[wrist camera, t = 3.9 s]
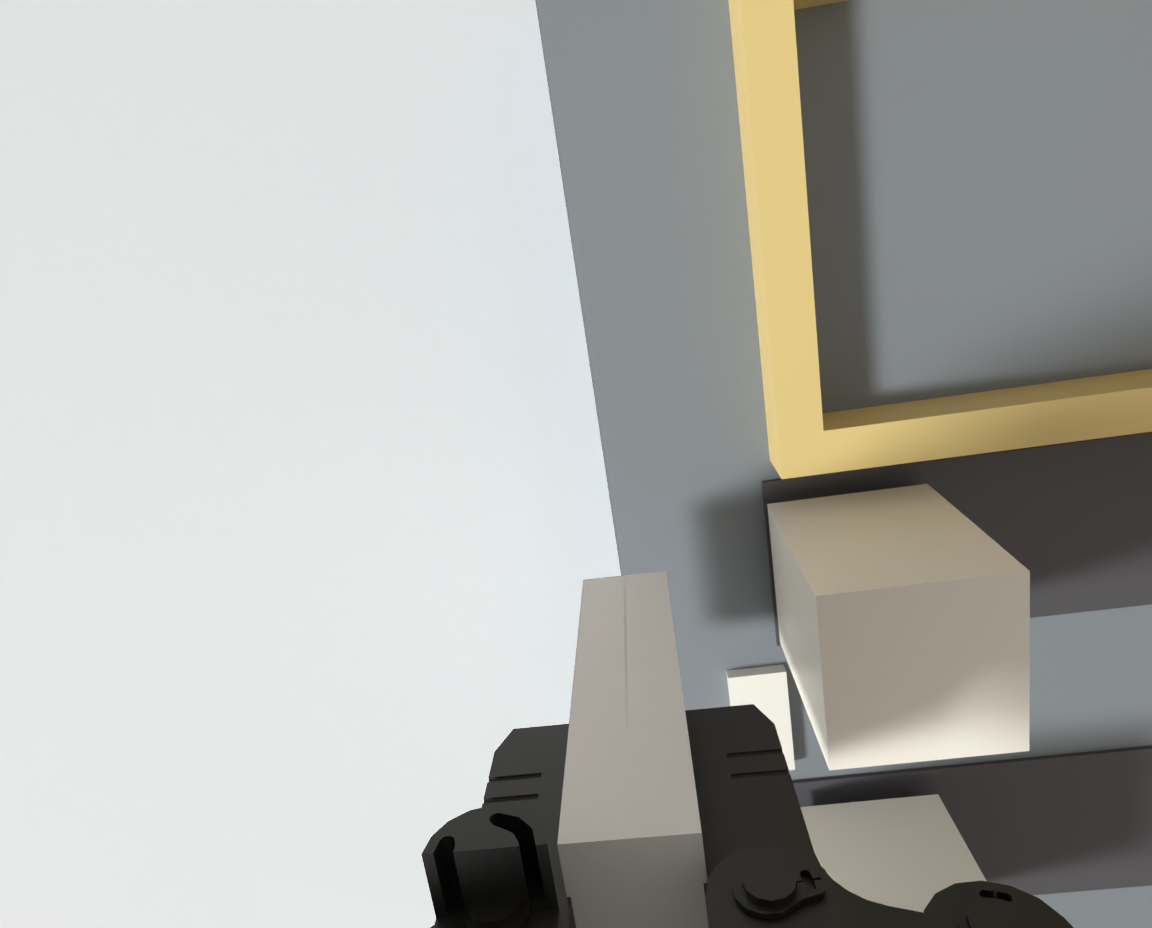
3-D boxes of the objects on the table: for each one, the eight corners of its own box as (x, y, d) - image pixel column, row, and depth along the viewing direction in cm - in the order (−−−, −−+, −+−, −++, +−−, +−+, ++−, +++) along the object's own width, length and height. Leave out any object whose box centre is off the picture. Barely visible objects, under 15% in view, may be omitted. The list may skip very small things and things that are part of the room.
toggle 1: (767, 503, 16) (815, 596, 12) (927, 483, 15) (1029, 571, 12) (779, 643, 17) (829, 770, 13) (931, 625, 16) (1029, 750, 12)
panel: (543, 17, 16) (526, -30, 13) (1443, -147, 14) (1668, -246, 11) (677, 925, 22) (688, 1040, 19) (1317, 872, 20) (1441, 987, 17)
